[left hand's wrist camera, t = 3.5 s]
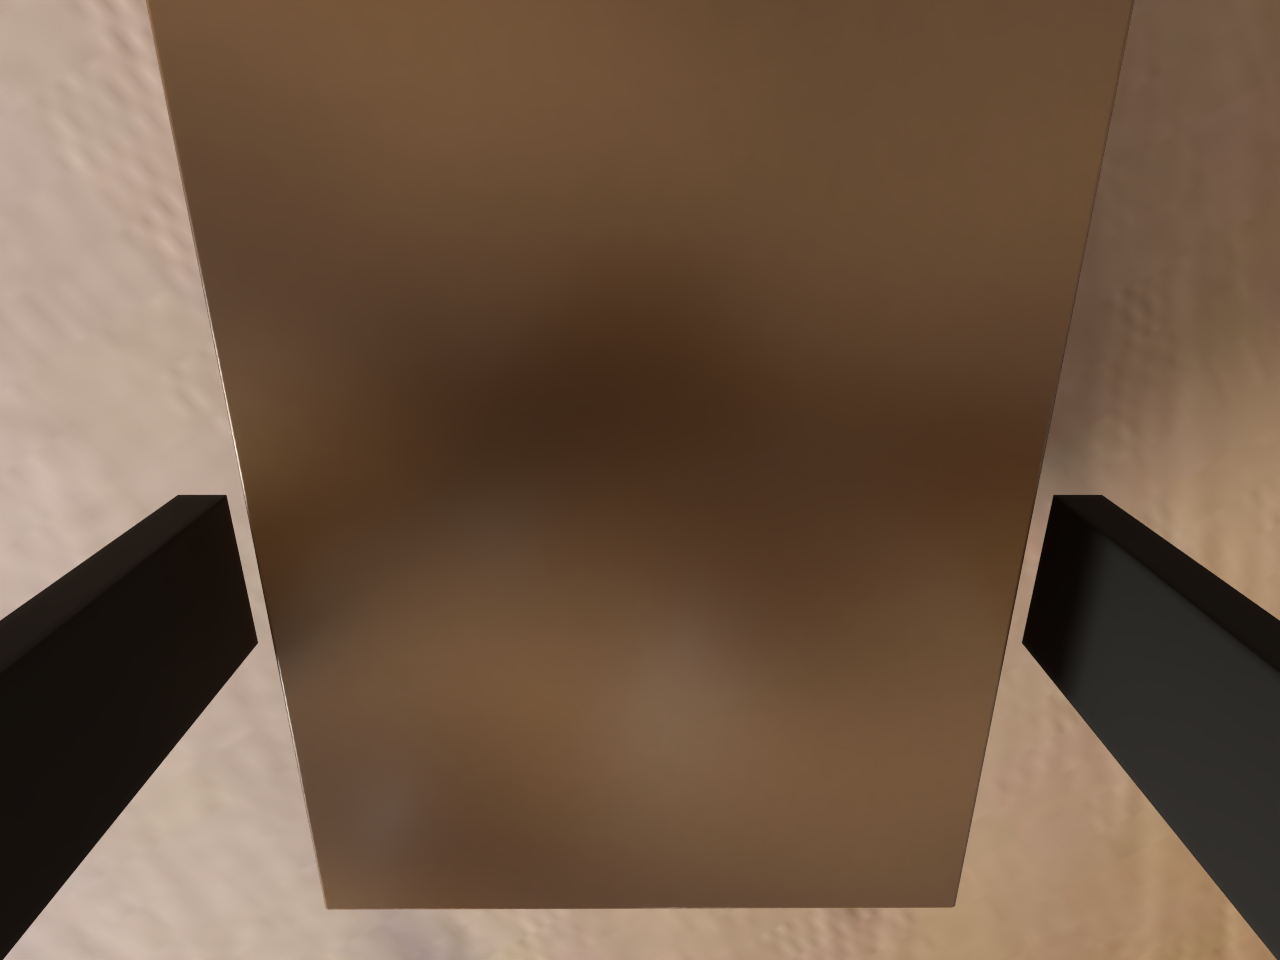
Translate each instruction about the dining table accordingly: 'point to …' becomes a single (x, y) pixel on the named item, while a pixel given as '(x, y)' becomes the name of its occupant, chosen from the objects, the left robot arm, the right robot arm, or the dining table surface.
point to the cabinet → (639, 420)
